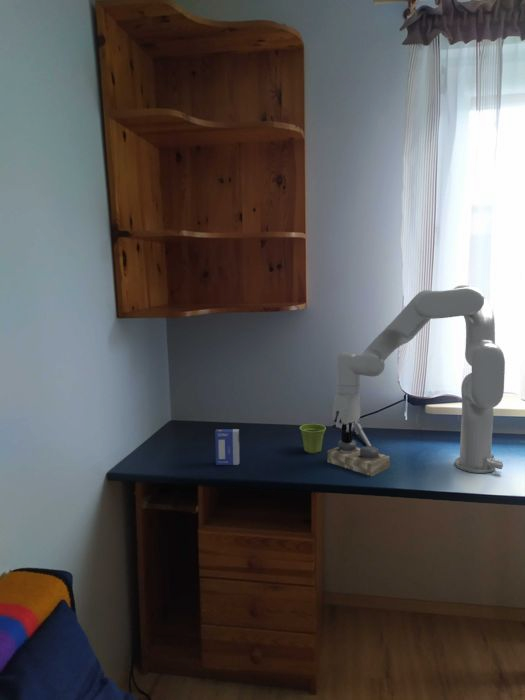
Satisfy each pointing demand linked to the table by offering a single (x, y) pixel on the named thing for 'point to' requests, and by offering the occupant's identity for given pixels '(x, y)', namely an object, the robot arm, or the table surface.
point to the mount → (358, 461)
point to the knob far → (347, 447)
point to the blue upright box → (227, 446)
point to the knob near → (369, 453)
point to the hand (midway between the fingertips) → (346, 441)
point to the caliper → (361, 433)
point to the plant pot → (312, 437)
